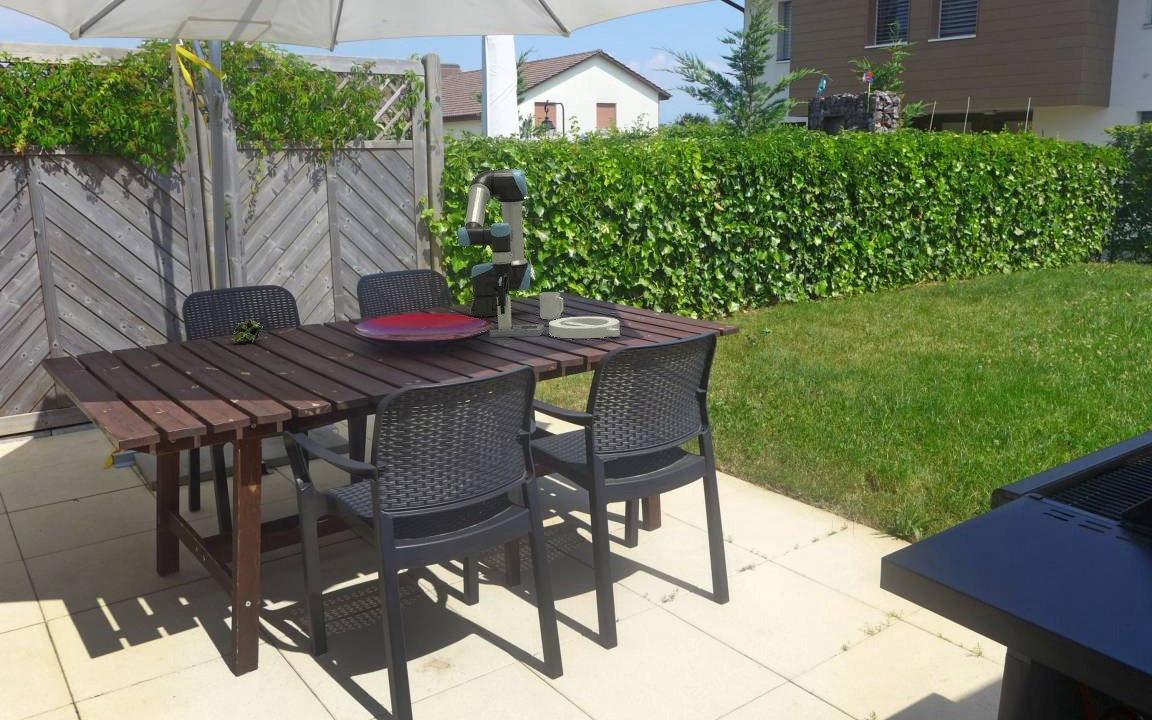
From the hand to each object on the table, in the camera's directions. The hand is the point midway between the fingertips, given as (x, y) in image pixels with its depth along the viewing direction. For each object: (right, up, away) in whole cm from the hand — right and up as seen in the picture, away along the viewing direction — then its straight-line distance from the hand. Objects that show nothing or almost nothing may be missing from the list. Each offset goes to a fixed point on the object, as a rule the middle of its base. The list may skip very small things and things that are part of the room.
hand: (504, 320), depth 375 cm
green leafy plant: (-101, -9, -3) cm, 101 cm away
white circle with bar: (+32, -6, -2) cm, 33 cm away
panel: (+5, -5, 0) cm, 7 cm away
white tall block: (0, -3, +1) cm, 3 cm away
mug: (+19, +2, +33) cm, 38 cm away
